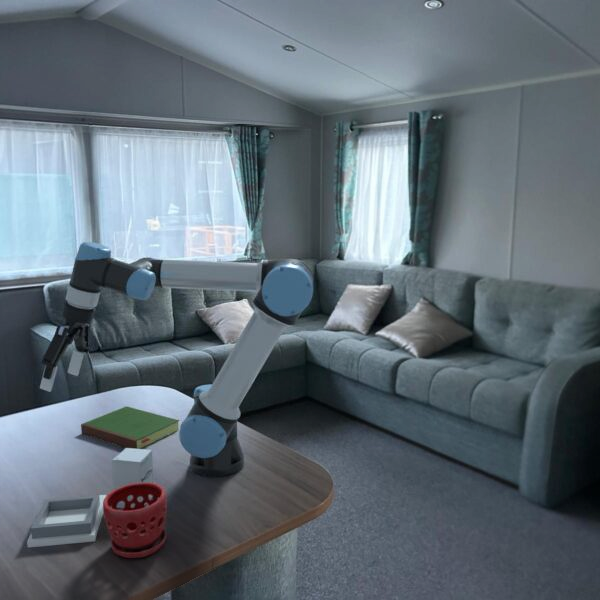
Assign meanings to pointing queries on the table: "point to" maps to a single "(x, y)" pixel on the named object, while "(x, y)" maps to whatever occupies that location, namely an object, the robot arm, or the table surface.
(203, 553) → the table surface
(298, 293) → the robot arm
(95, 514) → the plate
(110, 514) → the plant pot
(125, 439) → the hardcover book
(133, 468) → the supplement box
